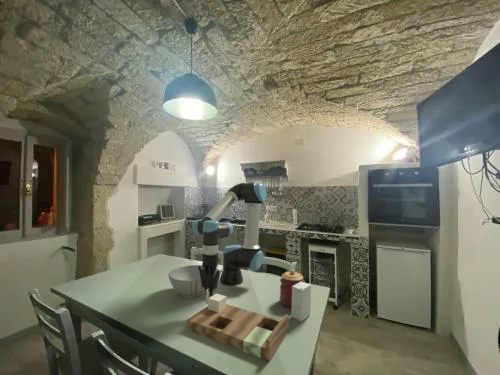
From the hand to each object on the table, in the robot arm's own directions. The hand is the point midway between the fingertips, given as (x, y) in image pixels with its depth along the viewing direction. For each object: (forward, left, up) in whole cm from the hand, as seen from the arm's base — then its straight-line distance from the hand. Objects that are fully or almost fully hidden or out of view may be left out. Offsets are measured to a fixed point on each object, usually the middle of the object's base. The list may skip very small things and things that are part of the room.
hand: (208, 302), depth 111 cm
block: (+5, 0, -1) cm, 5 cm away
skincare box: (+39, +21, -6) cm, 44 cm away
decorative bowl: (-22, +14, -6) cm, 27 cm away
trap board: (+19, -4, -5) cm, 20 cm away
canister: (+31, +32, -6) cm, 44 cm away
